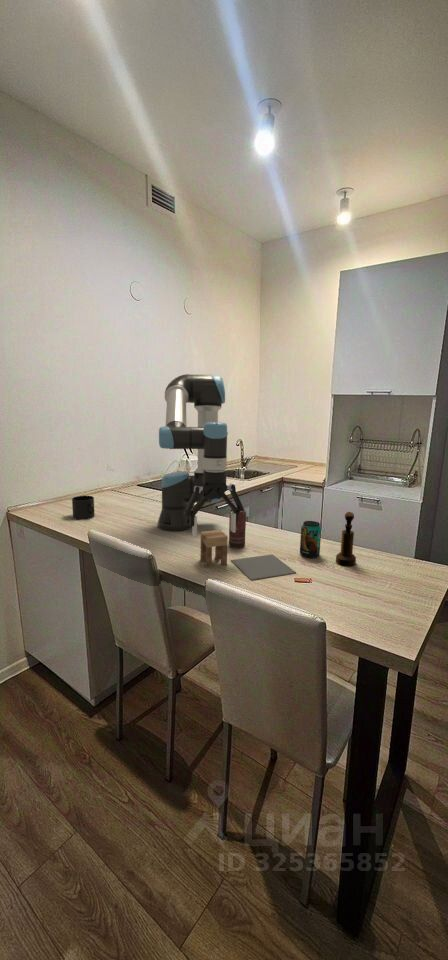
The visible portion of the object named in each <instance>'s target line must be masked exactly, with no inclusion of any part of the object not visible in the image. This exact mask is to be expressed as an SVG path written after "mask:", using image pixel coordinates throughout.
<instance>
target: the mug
mask: <svg viewBox="0 0 448 960" xmlns="http://www.w3.org/2000/svg"><path fill="white" fill-rule="evenodd" d="M71 504H72V505H71V506H72V518H73V519H74V518H76V519H75V520H79V519H84V520H89V519H88V518H90V519H92V517H93V518H94V517H95V515H96V514H95V497H94V496H93V495H92V496H91V495H79V496H78V495H77V496H74V497H72V498H71Z"/></svg>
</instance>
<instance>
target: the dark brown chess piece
mask: <svg viewBox="0 0 448 960" xmlns="http://www.w3.org/2000/svg"><path fill="white" fill-rule="evenodd" d="M344 519H345V522H346V524H344V527H345V529H344V530H342V531H341V539H340V540H341V542H340V543H341V544H340V552H339V553H337V554H336V555H335V563H337V564H338V565H340V566H343V567H344V566H345V567H351V566H352V567H353V566H355V565H356V563H357V558H356V557H357V556H355V554H353V552H354V551H353V549H354V539H355V538H354V537H355V532H354V531H353V530H352V528H353V524H352V522H353V520H354V519H355V514H354V513H353V512H351V511H346V513H345V514H344Z"/></svg>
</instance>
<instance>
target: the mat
mask: <svg viewBox="0 0 448 960" xmlns="http://www.w3.org/2000/svg"><path fill="white" fill-rule="evenodd" d="M230 562H231V563H232V564H233V565H234V566H235V567H236V568H237V569H238V570H239V571H241V573H242V574H243V575H244V576H246V577H247V578H248V579H249V580H250V581H257V580H264V579H268V578H276V577H282V576H289V575H295V574H297V572H296V571H295V570H294V569H292V568H291V567H290V566H289V565H287V564H286V563H284V562H283V561H282V560H281V559H279V558H278V557H277V556H275V555H274V554H272V553H271V554H265V555H259V556H257V555H256V556H250V557H243V558H237V559H230Z"/></svg>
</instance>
